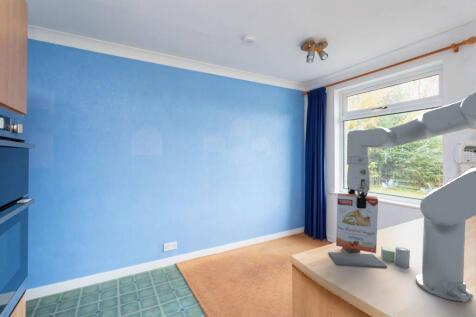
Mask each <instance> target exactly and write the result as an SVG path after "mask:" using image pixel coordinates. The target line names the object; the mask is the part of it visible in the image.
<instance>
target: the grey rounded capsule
mask: <svg viewBox="0 0 476 317" xmlns="http://www.w3.org/2000/svg"><path fill="white" fill-rule="evenodd" d="M394 249H395V250H394V251H395V262H394V264H395V265H396V266H398V267H399V268H404V269H409V268H410V257H411V254H410V253H411V251H410V249H408V248H406V247H402V246H396V247H395V248H394Z"/></svg>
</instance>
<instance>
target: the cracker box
mask: <svg viewBox="0 0 476 317" xmlns="http://www.w3.org/2000/svg"><path fill="white" fill-rule="evenodd" d="M357 198H358V195H353V194H349V193H341V192H338V193H337V199H336V200H337V204H336V207H337V208H336V235H335V240H336V241H335V244H336V247H339V248H340V247H341V248H342V247H345V248H351V249H356V250H360V252H361V251H363V252H367V253H371V254H377V244H378V243H377V240H378V237H377V236H378V212H379V210H378V208H379V206H378V205H379V199H378V197H377V196H374V195H367V198H366V208H365V209H363V208H357Z"/></svg>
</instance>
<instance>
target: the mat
mask: <svg viewBox="0 0 476 317" xmlns="http://www.w3.org/2000/svg"><path fill="white" fill-rule="evenodd" d="M328 255H329V257H330V258H331V260H333V262H334V263H335V265H336V266H346V267H361V268H362V267H363V268H378V269H379V268H381V269H387V268H388V267H387V265H386V264H385V263H384V262H383V261H382V260H380V258H378V257H377V256H376V255H375V254H374V253H361V252H357V253H349V252H336V251H335V252H333V251H328Z"/></svg>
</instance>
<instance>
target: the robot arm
mask: <svg viewBox="0 0 476 317" xmlns="http://www.w3.org/2000/svg"><path fill="white" fill-rule="evenodd" d="M471 128H476V91H474V92H472V93H470V94H468V95H467V96H465V98H464V99H462V100H458V101H456V102H453V103H450V104H447V105H443V106H440V107H437V108H434V109H430V110H427V111H424V112H422V113H421V114H419V115H418V116H416V117H414V118H413V119H412V120H409V121H408V122H405V123H403V124H399V125H395V126H392V127H389V128H385V127H382V126H380V127H379V126H377V127H373V128H366V129H352V130H349V131H348V132H347V134H346V135H347V139H346V140H347V142H346V144H347V145H346V165H347V173H346V174H347V176H346V183H347V184H346V186H347V194H353V195H358V198H357V208H363V209H365V208H366V198H367V196H368V192H369V191H370V189H371V188H370V187H371V186H370V185H371V182H370V181H371V180H370V170H369V160H370V159H369V155H370V154H369V153H370V151H369V149H370V148H372V149H383V150H384V149H385V150H386V149H390V148H394V147H399V146H404V145H408V144H411V143H414V142H419V141H421V140H427V139H431V138H434V137H438V136H443V135H447V134H451V133H455V132H459V131H462V130H467V129H471ZM419 204H420V205H419V206H420V207H419V208H420V212H421V215H422V216H423V226H422V228H423V232H422V233H423V234H422V265H421V268H422V269H421V270H422V271H421V274H418V275H416V277H415V282H416V284H417V285H418V286H419V287H420V288H421V289H422V290H424V291H426V292H428V293H430V294H432V295H435V296H437V297H439V298H442V299H445V300H446V299H447V300H449V301H454V302H463V303H464V302H465V303H466V302H468V301H469V300H471V299H473V298H474V295H473V294H472V293H471V292H470V290H468V288H467V283H465V282H464V280H465V279H464V276H465V273H464V272H465V270H464V269H465V243H466V241H465V240H466V222H467V220H468V219H471V218H473V217H476V166H475V167H473V168H470V169H468V170H467V171H464V173H463V174H462V175H460V176H458V177H456V178H455V179H453V180H450V181H449V182H447V183H446V184H444V185H442V186H441V187H438V188H434V189H432V190H430V191H429V192H427V193H426V194H425V195H424V196H423V197H422V199H421V201H420V203H419Z"/></svg>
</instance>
